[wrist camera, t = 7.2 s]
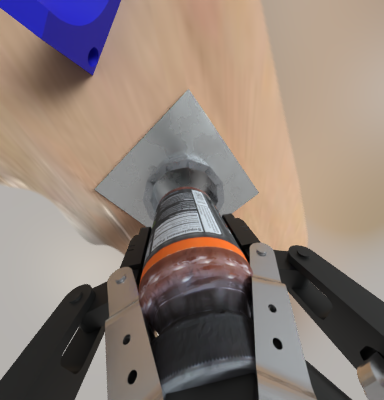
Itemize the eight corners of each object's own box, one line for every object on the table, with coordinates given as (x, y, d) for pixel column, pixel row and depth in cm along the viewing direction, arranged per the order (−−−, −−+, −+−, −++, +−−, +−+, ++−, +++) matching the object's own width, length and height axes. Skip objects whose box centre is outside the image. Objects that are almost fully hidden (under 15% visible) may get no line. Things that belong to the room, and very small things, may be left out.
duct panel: (97, 187, 18) (79, 199, 15) (187, 91, 15) (192, 78, 11) (180, 248, 25) (181, 266, 21) (256, 190, 21) (271, 201, 18)
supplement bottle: (214, 228, 16) (287, 394, 6) (163, 237, 16) (146, 430, 6) (211, 179, 13) (335, 332, 3) (149, 189, 13) (63, 397, 3)
